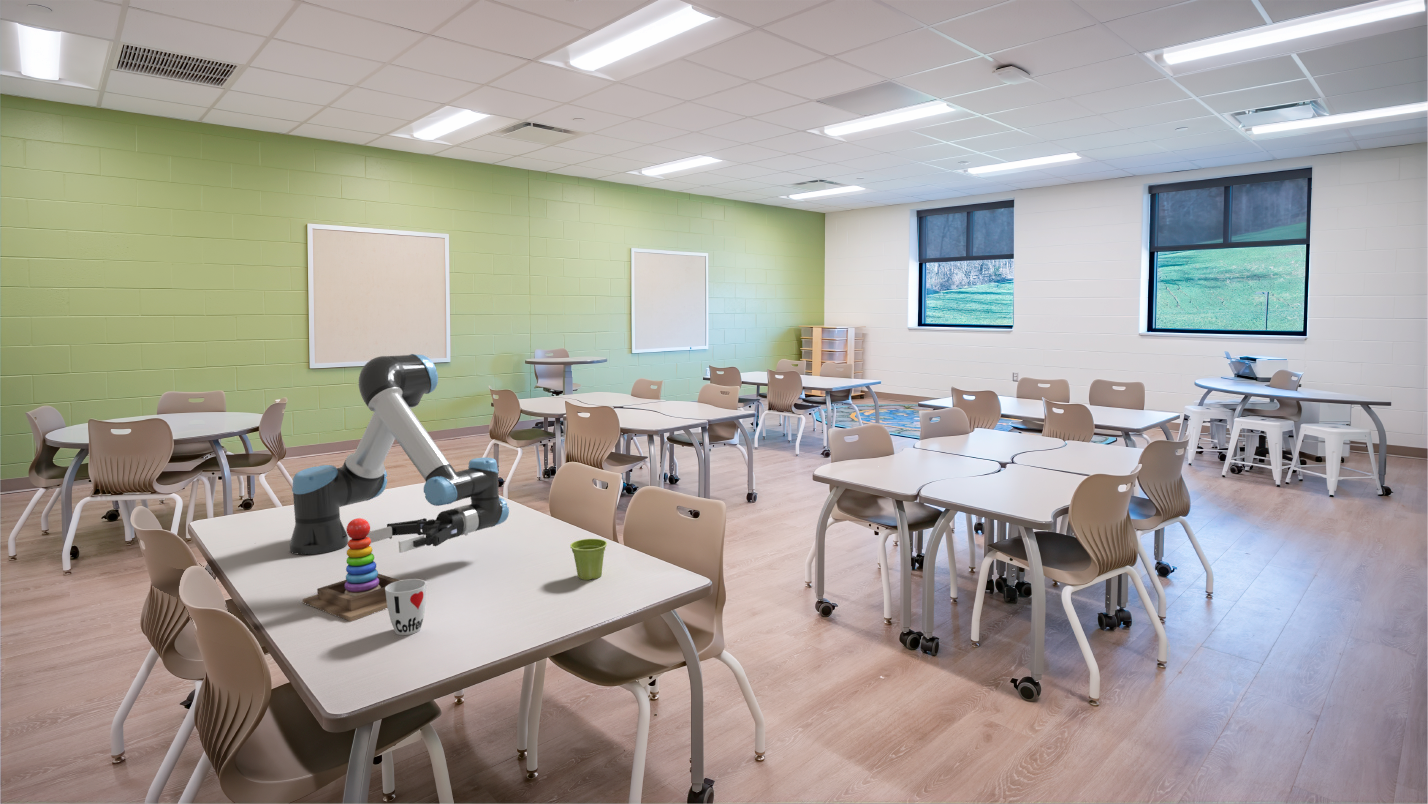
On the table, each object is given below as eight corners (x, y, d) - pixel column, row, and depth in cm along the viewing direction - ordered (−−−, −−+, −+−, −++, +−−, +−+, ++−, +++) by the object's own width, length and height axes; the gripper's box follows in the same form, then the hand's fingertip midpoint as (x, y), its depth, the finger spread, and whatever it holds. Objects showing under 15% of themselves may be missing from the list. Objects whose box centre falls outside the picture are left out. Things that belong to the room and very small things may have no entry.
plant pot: (596, 584, 186) (595, 551, 185) (564, 580, 190) (563, 547, 189) (614, 572, 195) (613, 540, 194) (582, 568, 198) (581, 537, 197)
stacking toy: (388, 591, 180) (384, 516, 178) (363, 603, 172) (358, 524, 170) (362, 587, 182) (358, 513, 180) (336, 599, 175) (331, 522, 173)
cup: (389, 641, 154) (386, 594, 153) (386, 627, 161) (383, 582, 160) (430, 633, 158) (428, 588, 157) (425, 619, 165) (423, 576, 164)
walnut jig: (303, 602, 175) (301, 588, 175) (373, 580, 190) (372, 567, 190) (350, 621, 164) (349, 606, 164) (421, 595, 179) (421, 581, 179)
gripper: (487, 543, 192) (415, 566, 174) (428, 528, 206) (355, 548, 188) (486, 515, 191) (413, 535, 173) (427, 502, 205) (353, 520, 187)
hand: (382, 542), depth 181 cm, fingers open, 13 cm apart
